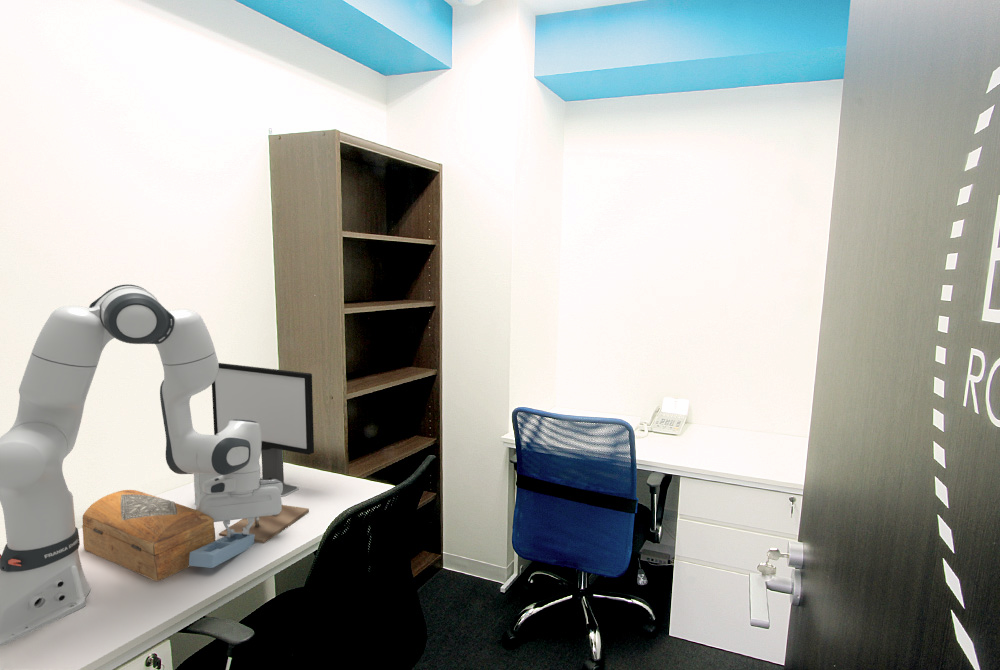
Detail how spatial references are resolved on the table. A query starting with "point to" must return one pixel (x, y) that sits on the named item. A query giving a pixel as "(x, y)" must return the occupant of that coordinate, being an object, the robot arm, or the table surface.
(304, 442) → the computer monitor
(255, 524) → the steel bosses
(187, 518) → the wooden box
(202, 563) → the blue compartment tray
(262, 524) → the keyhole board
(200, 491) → the small box
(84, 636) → the table surface
